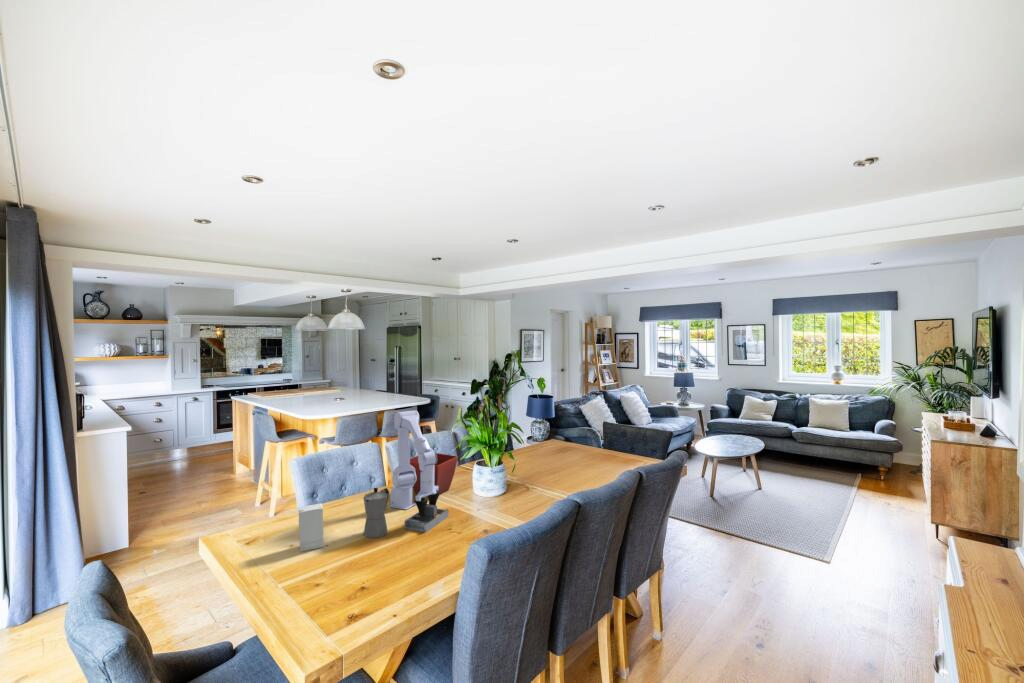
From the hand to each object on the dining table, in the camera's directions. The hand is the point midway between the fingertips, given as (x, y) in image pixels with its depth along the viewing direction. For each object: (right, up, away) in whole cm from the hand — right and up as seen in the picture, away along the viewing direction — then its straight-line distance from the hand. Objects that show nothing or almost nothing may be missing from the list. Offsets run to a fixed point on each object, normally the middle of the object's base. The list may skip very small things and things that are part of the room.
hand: (427, 512), depth 193 cm
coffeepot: (-18, -4, -10) cm, 21 cm away
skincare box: (-39, -4, -23) cm, 45 cm away
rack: (0, -4, 0) cm, 4 cm away
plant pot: (-5, -4, +39) cm, 39 cm away
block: (0, -3, 0) cm, 3 cm away
